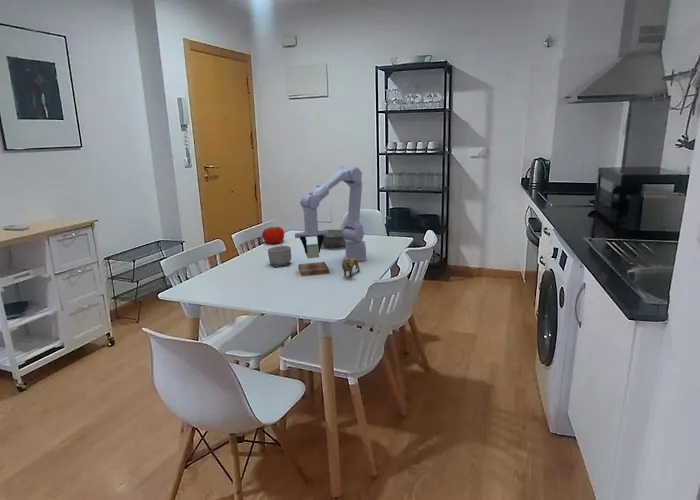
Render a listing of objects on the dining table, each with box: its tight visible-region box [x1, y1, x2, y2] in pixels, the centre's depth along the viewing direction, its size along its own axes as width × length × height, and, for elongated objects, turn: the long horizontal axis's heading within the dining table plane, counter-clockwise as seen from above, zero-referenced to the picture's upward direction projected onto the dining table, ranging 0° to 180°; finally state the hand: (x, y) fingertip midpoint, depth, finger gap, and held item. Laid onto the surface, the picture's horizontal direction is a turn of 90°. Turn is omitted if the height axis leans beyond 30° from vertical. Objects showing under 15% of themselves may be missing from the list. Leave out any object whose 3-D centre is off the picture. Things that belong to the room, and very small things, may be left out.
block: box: [305, 243, 320, 259], centre depth 203 cm, size 5×5×5 cm
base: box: [298, 261, 330, 277], centre depth 204 cm, size 12×12×2 cm
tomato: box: [261, 226, 285, 244], centre depth 258 cm, size 14×13×9 cm
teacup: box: [267, 244, 292, 267], centre depth 217 cm, size 14×11×8 cm
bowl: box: [322, 229, 345, 248], centre depth 246 cm, size 18×18×8 cm
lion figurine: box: [341, 258, 361, 278], centre depth 196 cm, size 15×5×9 cm, turn 164°
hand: (312, 252), depth 202 cm, fingers closed on block, 5 cm apart
